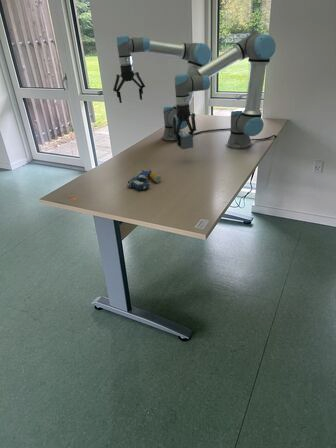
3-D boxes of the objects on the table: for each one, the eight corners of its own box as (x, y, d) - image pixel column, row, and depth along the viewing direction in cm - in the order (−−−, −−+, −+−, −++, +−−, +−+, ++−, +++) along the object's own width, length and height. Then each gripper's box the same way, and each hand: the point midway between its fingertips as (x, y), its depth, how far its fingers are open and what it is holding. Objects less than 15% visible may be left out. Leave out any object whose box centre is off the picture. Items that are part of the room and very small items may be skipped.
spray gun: (166, 176, 187) (143, 174, 193) (165, 169, 185) (142, 167, 191) (148, 193, 172) (124, 189, 178) (147, 185, 170) (123, 182, 176)
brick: (182, 149, 195) (181, 137, 191) (177, 145, 202) (176, 133, 199) (193, 147, 196) (192, 135, 193) (187, 143, 204) (186, 131, 200)
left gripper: (107, 67, 197) (113, 104, 208) (147, 62, 203) (151, 99, 214) (104, 66, 203) (110, 102, 214) (144, 61, 209) (147, 97, 220)
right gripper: (168, 107, 181) (171, 148, 193) (201, 102, 186) (202, 143, 198) (164, 105, 187) (167, 145, 199) (196, 100, 192) (197, 139, 204)
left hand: (130, 101), depth 214 cm, fingers open, 13 cm apart
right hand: (184, 144), depth 199 cm, fingers closed on brick, 7 cm apart
